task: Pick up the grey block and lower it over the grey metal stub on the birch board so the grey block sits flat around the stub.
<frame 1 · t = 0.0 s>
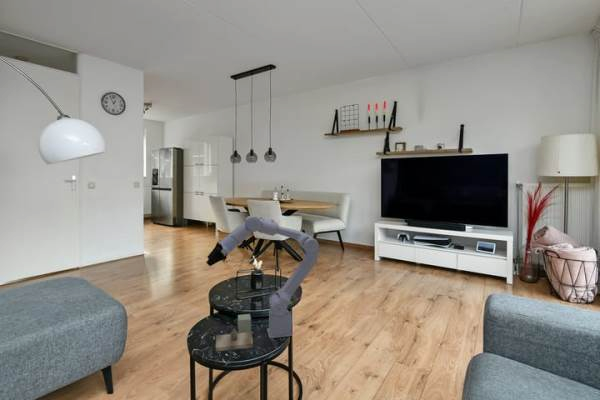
hand: (208, 261, 122), 32 cm above the table, tool tilted 50°, fingers open, 7 cm apart
stub board: (234, 343, 122), on the table
grey block: (244, 329, 133), on the table
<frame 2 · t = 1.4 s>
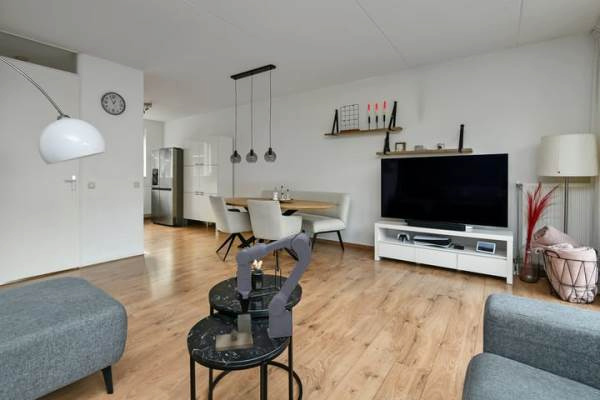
hand: (244, 308, 132), 9 cm above the table, tool pointing down, fingers open, 7 cm apart
nothing on the table moved.
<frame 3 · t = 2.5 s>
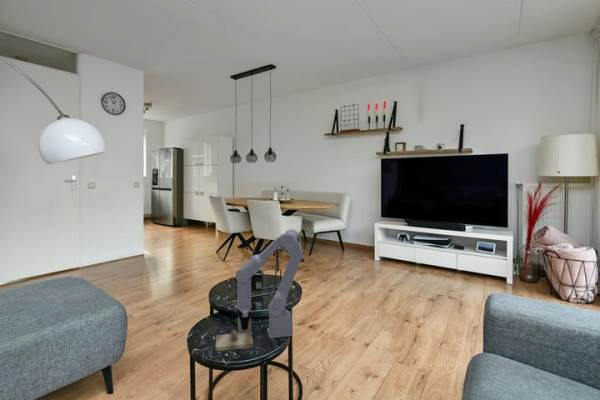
hand: (244, 325, 133), 2 cm above the table, tool pointing down, fingers closed on grey block, 5 cm apart
grey block: (244, 329, 133), on the table, touching gripper
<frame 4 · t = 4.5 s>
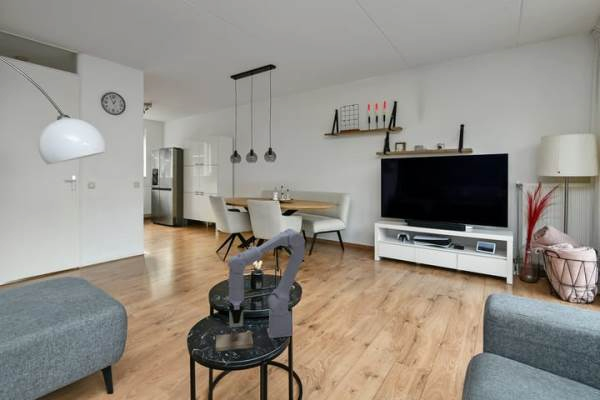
hand: (236, 319, 124), 8 cm above the table, tool pointing down, fingers closed on grey block, 5 cm apart
grey block: (236, 323, 124), point 7 cm above the table, touching gripper
when the fingers open (4 cm above the table, at t = 6.6 s): grey block stays where it is, resting on stub board.
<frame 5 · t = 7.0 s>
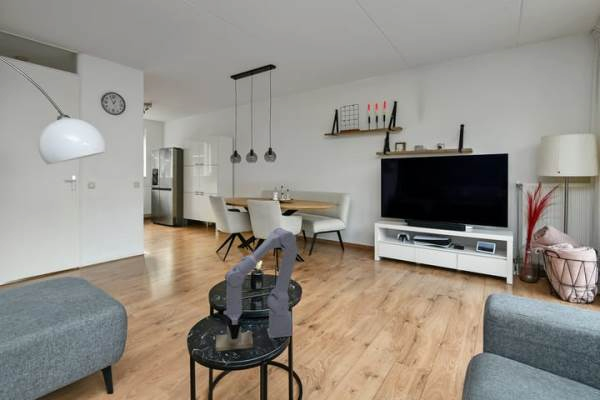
hand: (234, 333, 122), 4 cm above the table, tool pointing down, fingers open, 7 cm apart
grey block: (234, 339, 122), point 1 cm above the table, touching stub board
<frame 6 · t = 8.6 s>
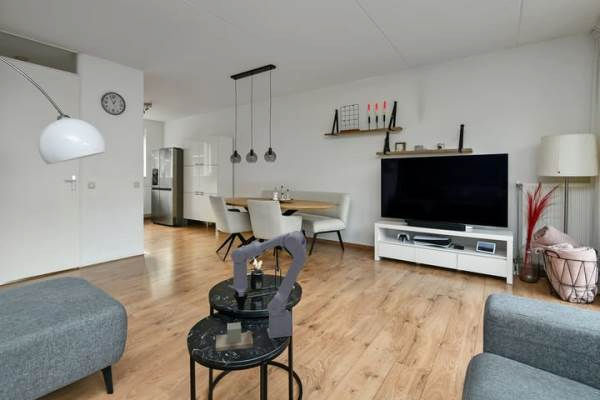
hand: (240, 306, 134), 9 cm above the table, tool pointing down, fingers open, 7 cm apart
nothing on the table moved.
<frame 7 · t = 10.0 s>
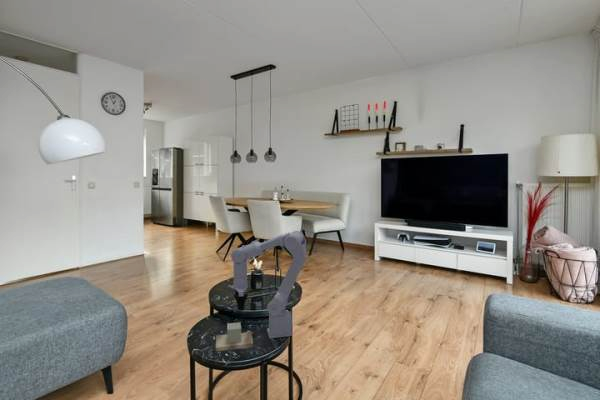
hand: (240, 306, 134), 9 cm above the table, tool pointing down, fingers open, 7 cm apart
nothing on the table moved.
at the end: grey block 0.1 cm off-centre on the stub board, point 1.5 cm above the stub board's base; grey block tilted 0°; the gripper is holding nothing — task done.
